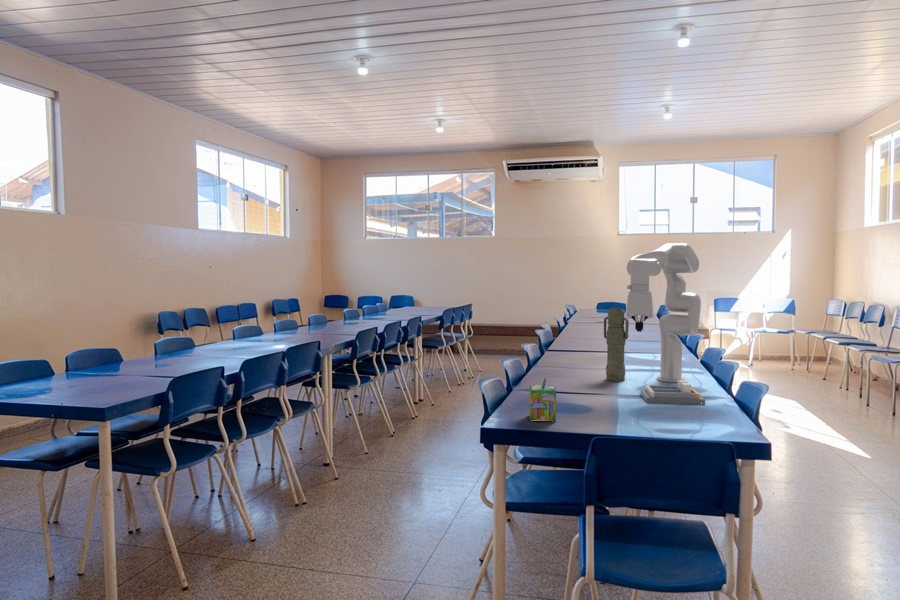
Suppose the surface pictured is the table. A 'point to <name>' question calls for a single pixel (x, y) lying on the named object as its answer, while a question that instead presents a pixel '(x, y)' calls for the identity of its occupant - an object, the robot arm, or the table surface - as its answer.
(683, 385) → the tab
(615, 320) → the thermos
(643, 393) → the switch board
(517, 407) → the table surface
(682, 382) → the tab
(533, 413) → the chalk box
